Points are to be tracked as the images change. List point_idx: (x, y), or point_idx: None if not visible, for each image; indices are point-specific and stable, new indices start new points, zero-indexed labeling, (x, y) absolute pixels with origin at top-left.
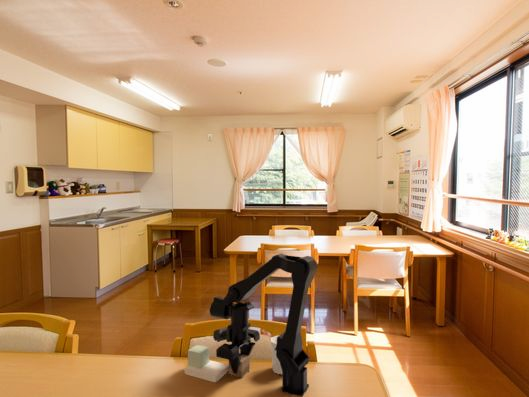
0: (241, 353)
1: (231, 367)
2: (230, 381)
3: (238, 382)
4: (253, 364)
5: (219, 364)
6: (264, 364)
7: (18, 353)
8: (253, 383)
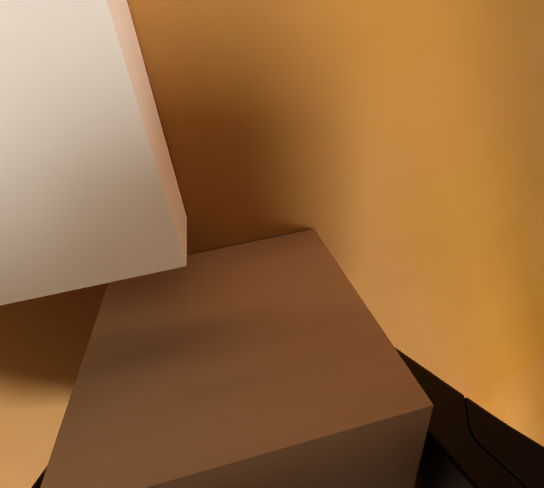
0: (438, 460)
1: None
2: (23, 378)
3: None
4: (454, 302)
5: (33, 85)
6: (478, 357)
7: None
8: None
